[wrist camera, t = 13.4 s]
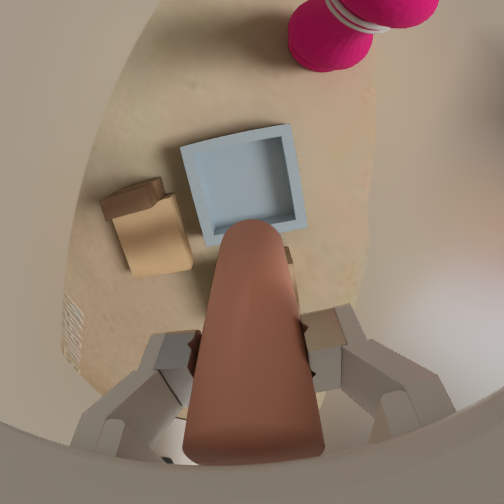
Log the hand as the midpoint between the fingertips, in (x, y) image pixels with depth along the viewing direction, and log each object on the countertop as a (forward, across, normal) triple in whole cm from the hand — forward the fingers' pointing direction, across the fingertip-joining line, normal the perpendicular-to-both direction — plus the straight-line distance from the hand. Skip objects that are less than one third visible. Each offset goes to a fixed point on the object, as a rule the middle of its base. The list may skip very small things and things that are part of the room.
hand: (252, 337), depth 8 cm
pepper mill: (+23, +9, +13) cm, 28 cm away
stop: (+22, -12, +1) cm, 25 cm away
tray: (+22, -1, 0) cm, 22 cm away
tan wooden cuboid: (+22, -12, -4) cm, 26 cm away
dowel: (+6, 0, 0) cm, 6 cm away
